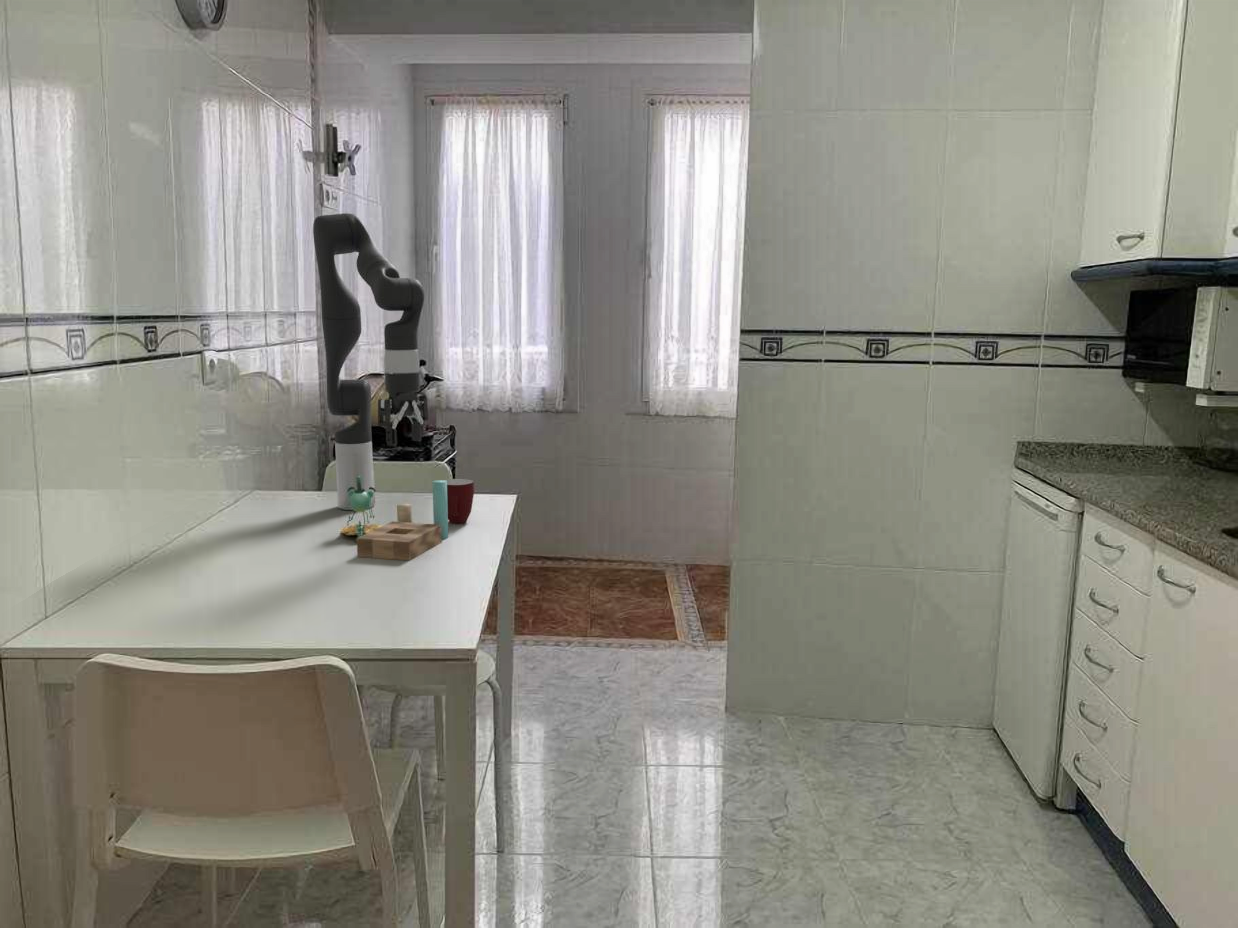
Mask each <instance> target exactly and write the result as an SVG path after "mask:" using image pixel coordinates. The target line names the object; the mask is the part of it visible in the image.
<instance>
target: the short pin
mask: <svg viewBox="0 0 1238 928" xmlns="http://www.w3.org/2000/svg"><path fill="white" fill-rule="evenodd" d="M396 509H397V511H396V512H397V514H396V515H397V517H396V518H397V522H408V523H413V518H412V517H413V516H412V515H413V513H412V504H411V503H400V504H397V505H396Z"/></svg>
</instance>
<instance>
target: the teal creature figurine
mask: <svg viewBox="0 0 1238 928" xmlns="http://www.w3.org/2000/svg"><path fill="white" fill-rule="evenodd" d="M356 481H357V489H358V490H356V489H355V490H354V491H353V490H351V489H354V487H350V488H349V489H348V492H349V496H350V503H349V505H348V506H347V507H348V510H347V511H350V510H349V507H350V506H351V508H352V509H353V510H352V511H353V514H352V516H350V515H348V520H347V525H346V526H345V527H344V526H343V527H342V529H341V530H340V531H339V532H340V533H341V534H343V535H346V536H357V538H358V537H360V536H363V535H365V534H367V533H369V532H371V531H373V530H375V529H378V528H380V527H382V525H380V524H374V523H372V524H369V523H370V520H369V518H370V519H371V518H372V519H373V520H374V519H375V515H374V513H373V511H372V509H371V508H372V507H371V498H372V497H373V492H372V491H369V492H368V493H367V492H365V489H364V488H363V489H362V487H361V478H360V476H357V477H356ZM370 489H372V490H373V491H374V492H375V493H376V489H374V488H373V487H369V490H370ZM350 490H351V491H350ZM370 507H371V508H370ZM367 510H368V511H369V515H368V512H366V511H367ZM356 512H357V513H359V514H360V513H362V515H363V516H362V517H363V523H364V524H361V523H362V522H361V520H358V524H356V523H355V524H354V525H349V522H350V521H353V519H354V516H355V514H356ZM365 514H366V518H365ZM366 519H367V521H366ZM366 522H367V524H366ZM357 538H355V539H354V541H356V542H357Z"/></svg>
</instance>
